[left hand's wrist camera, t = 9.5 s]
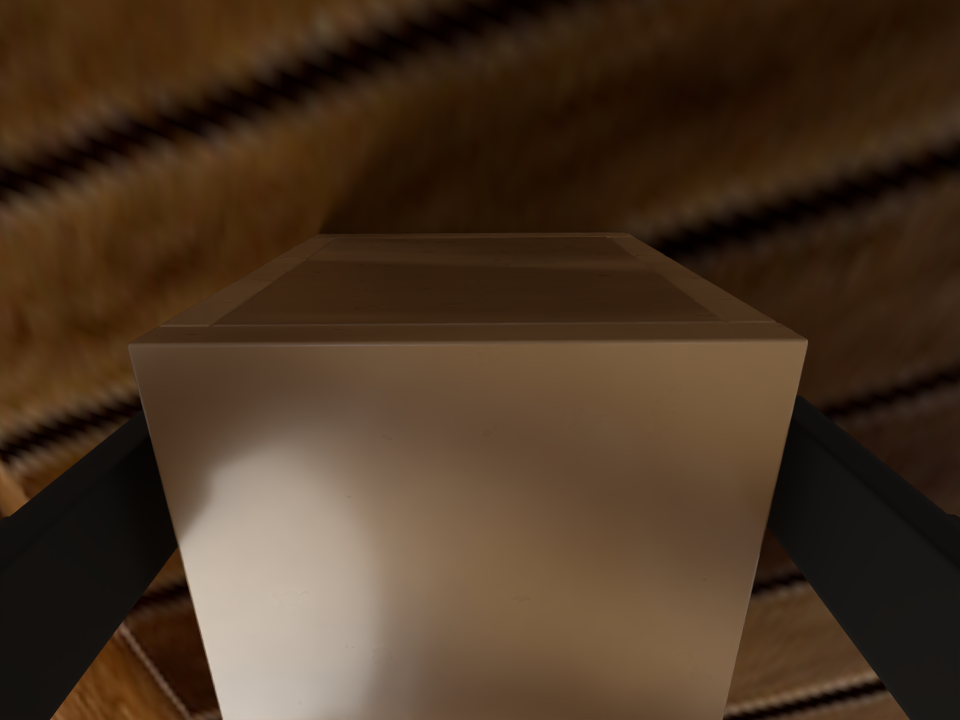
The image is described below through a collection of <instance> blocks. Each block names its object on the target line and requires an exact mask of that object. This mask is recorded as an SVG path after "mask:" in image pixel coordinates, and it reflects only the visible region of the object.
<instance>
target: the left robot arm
mask: <svg viewBox="0 0 960 720" xmlns="http://www.w3.org/2000/svg"><path fill="white" fill-rule="evenodd" d="M767 527H768V528H769V529H770V531H771V532H772V533H773V535H774V536H775V537H776V539H777V540H778V541H779V543H780V544H781V546H782V547H783V548H784V550H785V551H786V552H787V554H788V555H789V556H790V558H791V559H792V560H793V562H794V563H795V564H796V566H797V567H798V569H799V570H800V571H801V573H802V574H803V575H804V577H805V578H806V579H807V581H808V582H809V583H810V585H811V586H812V587H813V589H814V590H815V592H816V593H817V594H818V596H819V597H820V598H821V600H822V601H823V602H824V604H825V605H826V606H827V608H828V609H829V611H830V612H831V613H832V615H833V616H834V617H835V619H836V620H837V621H838V623H839V624H840V625H841V627H842V628H843V629H844V631H845V632H846V634H847V635H848V636H849V638H850V639H851V640H852V642H853V643H854V644H855V646H856V647H857V648H858V650H859V651H860V653H861V654H862V655H863V657H864V658H865V659H866V661H867V662H868V663H869V665H870V666H871V667H872V669H873V670H874V671H875V673H876V674H877V676H878V677H879V678H880V680H881V681H882V682H883V684H884V685H885V686H886V688H887V689H888V690H889V692H890V693H891V695H892V696H893V697H894V699H895V700H896V701H897V703H898V704H899V705H900V707H901V708H902V709H903V711H904V712H905V713H906V715H907V716H908V718H909V719H910V720H960V517H958V516H956V515H948V514H946V513H945V512H944V511H943V510H941V509H940V508H939V507H938V506H936V505H935V504H934V503H933V502H931V501H930V500H929V499H928V498H927V497H925V496H924V495H923V494H922V493H920V492H919V491H918V490H917V489H915V488H914V487H913V486H912V485H910V484H909V483H908V482H907V481H905V480H904V479H903V478H902V477H901V476H899V475H898V474H897V473H896V472H894V471H893V470H892V469H891V468H889V467H888V466H887V465H886V464H884V463H883V462H882V461H881V460H879V459H878V458H877V457H876V456H874V455H873V454H872V453H871V452H870V451H868V450H867V449H866V448H865V447H863V446H862V445H861V444H860V443H858V442H857V441H856V440H855V439H853V438H852V437H851V436H850V435H848V434H847V433H846V432H845V431H844V430H842V429H841V428H840V427H839V426H837V425H836V424H835V423H834V422H832V421H831V420H830V419H829V418H827V417H826V416H825V415H824V414H822V413H821V412H820V411H819V410H817V409H816V408H815V407H814V406H813V405H811V404H810V403H809V402H808V401H806V400H805V399H804V398H803V397H801V396H796V399H795V403H794V408H793V412H792V416H791V421H790V425H789V429H788V434H787V438H786V443H785V447H784V451H783V456H782V460H781V465H780V469H779V473H778V478H777V482H776V487H775V491H774V495H773V500H772V504H771V509H770V513H769V517H768V522H767ZM177 547H178V544H177V540H176V536H175V532H174V528H173V524H172V521H171V517H170V513H169V509H168V505H167V501H166V497H165V493H164V489H163V485H162V481H161V477H160V473H159V469H158V465H157V462H156V458H155V454H154V450H153V446H152V442H151V438H150V434H149V430H148V426H147V422H146V418H145V414H144V410H141V411H140V412H139V413H138V414H136V415H135V416H134V417H133V418H131V419H130V420H129V421H128V422H126V423H125V424H124V425H123V426H121V427H120V428H119V429H118V430H116V431H115V432H114V433H113V434H112V435H110V436H109V437H108V438H107V439H105V440H104V441H103V442H102V443H100V444H99V445H98V446H97V447H95V448H94V449H93V450H92V451H90V452H89V453H88V454H87V455H86V456H84V457H83V458H82V459H81V460H79V461H78V462H77V463H76V464H74V465H73V466H72V467H71V468H69V469H68V470H67V471H66V472H64V473H63V474H62V475H61V476H59V477H58V478H57V479H56V480H55V481H53V482H52V483H51V484H50V485H48V486H47V487H46V488H45V489H43V490H42V491H41V492H40V493H38V494H37V495H36V496H35V497H33V498H32V499H31V500H30V501H29V502H27V503H26V504H25V505H24V506H22V507H21V508H20V509H19V510H17V511H16V512H15V513H14V514H12V515H11V516H10V517H5V518H3V519H1V520H0V720H50V719H51V718H52V716H53V715H54V713H55V712H56V711H57V709H58V708H59V707H60V705H61V704H62V703H63V701H64V700H65V699H66V697H67V696H68V695H69V693H70V692H71V690H72V689H73V688H74V686H75V685H76V684H77V682H78V681H79V680H80V678H81V677H82V676H83V674H84V673H85V671H86V670H87V669H88V667H89V666H90V665H91V663H92V662H93V661H94V659H95V658H96V657H97V655H98V654H99V653H100V651H101V650H102V648H103V647H104V646H105V644H106V643H107V642H108V640H109V639H110V638H111V636H112V635H113V634H114V632H115V631H116V629H117V628H118V627H119V625H120V624H121V623H122V621H123V620H124V619H125V617H126V616H127V615H128V613H129V612H130V611H131V609H132V608H133V606H134V605H135V604H136V602H137V601H138V600H139V598H140V597H141V596H142V594H143V593H144V592H145V590H146V589H147V587H148V586H149V585H150V583H151V582H152V581H153V579H154V578H155V577H156V575H157V574H158V573H159V571H160V570H161V569H162V567H163V566H164V564H165V563H166V562H167V560H168V559H169V558H170V556H171V555H172V554H173V552H174V551H175V550H176V548H177Z"/></svg>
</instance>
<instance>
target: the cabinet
mask: <svg viewBox="0 0 960 720" xmlns="http://www.w3.org/2000/svg"><path fill="white" fill-rule="evenodd" d="M807 346H808V340H807V339H806V338H804V337H803V336H801V335H799V334H798V333H796V332H794V331H793V330H791V329H789V328H787V327H786V326H784V325H782V324H780V323H777V322H776V321H775V320H773V319H771V318H770V317H768V316H766V315H764V314H763V313H761V312H759V311H758V310H756V309H754V308H753V307H751V306H749V305H748V304H746V303H744V302H743V301H741V300H739V299H738V298H736V297H734V296H733V295H731V294H729V293H727V292H726V291H724V290H722V289H721V288H719V287H717V286H716V285H714V284H712V283H711V282H709V281H707V280H706V279H704V278H702V277H701V276H699V275H697V274H696V273H694V272H692V271H690V270H689V269H687V268H685V267H684V266H682V265H680V264H679V263H677V262H675V261H674V260H672V259H670V258H669V257H667V256H665V255H664V254H662V253H660V252H659V251H657V250H655V249H654V248H652V247H650V246H648V245H647V244H645V243H643V242H642V241H640V240H638V239H637V238H635V237H634V236H632V235H630V234H629V233H627V232H601V233H415V234H317V235H315V236H313V237H311V238H310V239H308V240H306V241H304V242H303V243H301V244H299V245H297V246H296V247H294V248H292V249H291V250H289V251H287V252H285V253H284V254H282V255H280V256H279V257H277V258H275V259H273V260H272V261H270V262H268V263H267V264H265V265H263V266H261V267H260V268H258V269H256V270H254V271H253V272H251V273H249V274H248V275H246V276H244V277H242V278H241V279H239V280H237V281H236V282H234V283H232V284H230V285H229V286H227V287H225V288H223V289H222V290H220V291H218V292H217V293H215V294H213V295H211V296H210V297H208V298H206V299H205V300H203V301H201V302H199V303H198V304H196V305H194V306H193V307H191V308H189V309H187V310H186V311H184V312H182V313H180V314H179V315H177V316H175V317H174V318H172V319H170V320H168V321H167V322H165V323H163V324H162V325H160V327H157V328H155V329H153V330H151V331H149V332H148V333H146V334H144V335H143V336H141V337H139V338H137V339H136V340H134V341H132V342H131V343H129V344H128V351H129V355H130V359H131V363H132V367H133V371H134V375H135V379H136V383H137V387H138V391H139V395H140V399H141V403H142V406H143V410H144V414H145V418H146V422H147V426H148V430H149V434H150V438H151V442H152V446H153V450H154V454H155V458H156V462H157V465H158V469H159V473H160V477H161V481H162V485H163V489H164V493H165V497H166V501H167V505H168V509H169V513H170V517H171V521H172V524H173V528H174V532H175V536H176V540H177V544H178V548H179V552H180V556H181V560H182V564H183V568H184V572H185V576H186V580H187V584H188V587H189V591H190V595H191V599H192V603H193V607H194V611H195V615H196V619H197V623H198V627H199V631H200V635H201V639H202V643H203V646H204V650H205V654H206V658H207V662H208V666H209V670H210V674H211V678H212V682H213V686H214V690H215V694H216V698H217V702H218V705H219V709H220V713H221V717H222V720H722V719H723V715H724V711H725V706H726V702H727V697H728V693H729V689H730V684H731V680H732V676H733V671H734V667H735V662H736V658H737V654H738V649H739V645H740V640H741V636H742V632H743V627H744V623H745V618H746V614H747V610H748V605H749V601H750V596H751V592H752V588H753V583H754V579H755V574H756V570H757V566H758V561H759V557H760V552H761V548H762V544H763V539H764V535H765V531H766V526H767V522H768V517H769V513H770V509H771V504H772V500H773V495H774V491H775V487H776V482H777V478H778V473H779V469H780V465H781V460H782V456H783V451H784V447H785V443H786V438H787V434H788V429H789V425H790V421H791V416H792V412H793V408H794V403H795V399H796V394H797V390H798V386H799V381H800V377H801V372H802V368H803V364H804V359H805V355H806V350H807Z"/></svg>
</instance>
